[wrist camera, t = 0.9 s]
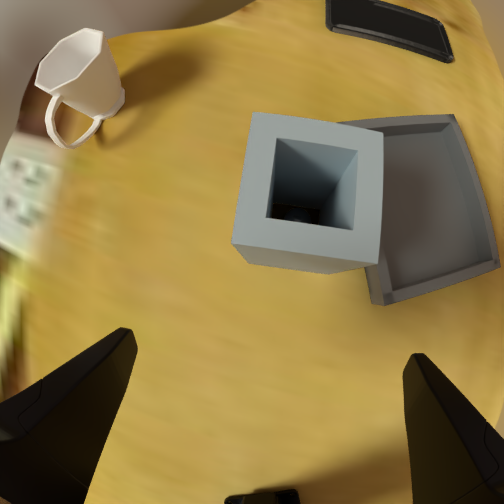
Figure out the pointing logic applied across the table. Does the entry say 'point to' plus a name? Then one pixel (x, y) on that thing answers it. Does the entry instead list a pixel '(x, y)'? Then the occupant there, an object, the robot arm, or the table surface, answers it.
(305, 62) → the table surface
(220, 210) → the table surface
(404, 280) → the tray
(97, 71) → the cup
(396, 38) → the phone
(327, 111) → the table surface
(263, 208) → the sleeve
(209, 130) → the table surface
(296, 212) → the grey metal capsule
